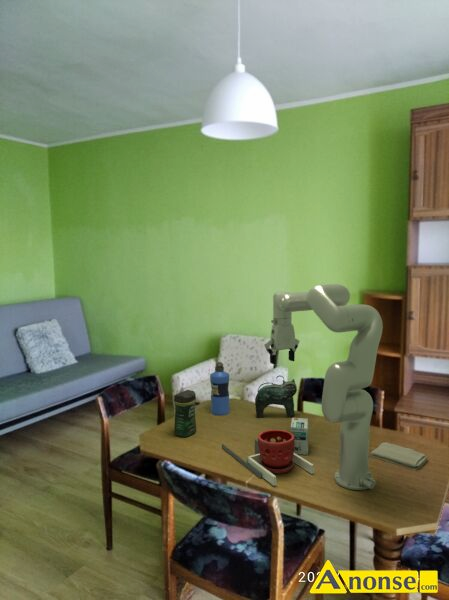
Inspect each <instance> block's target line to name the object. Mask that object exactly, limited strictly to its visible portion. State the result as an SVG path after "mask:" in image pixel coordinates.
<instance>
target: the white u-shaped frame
mask: <svg viewBox="0 0 449 600" xmlns="http://www.w3.org/2000/svg"><path fill="white" fill-rule="evenodd" d="M261 461H262V458H261V456H260V453H259V447H258V438H255V439H254V454H252V455H249V456H246V463H248V464H249V465H250V466H252V467H253V468H254V469H256V470H257V471H258V472H259V473H261V474H262V478H263V479H264V480H266V481H267V482H268V483H269V484H271V485H272V486H276V485H277V476H276V475H275V473H272V472H270V471H268V470H267V469H265V468H264V467H263V466H262V465H261ZM292 461H293V464H296V465H297V466H299V467H300V468H301V469H303V470H305V472H306V471H307V472H308V473H310V474H312V475H313V474H314V466H315V465H314V464H313V463H312V462H309V461H308V460H306V459H305V458H303V457H302V456H300V454H295V453H294V454H293V458H292Z"/></svg>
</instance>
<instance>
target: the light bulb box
mask: <svg viewBox="0 0 449 600" xmlns="http://www.w3.org/2000/svg"><path fill="white" fill-rule="evenodd" d="M290 433H292V434H293V435H294V440H295V445H294V453H295V454H297V455H304V456H308V455H309V418H303V417H300V418H299V417H294V418H291V423H290Z"/></svg>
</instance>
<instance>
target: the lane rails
mask: <svg viewBox="0 0 449 600" xmlns="http://www.w3.org/2000/svg"><path fill="white" fill-rule="evenodd" d="M265 441H267V439H265ZM270 442H273V441H272V440H270ZM221 449H222V450H224V452H226V453H227V454H228V455H230V456H231V457H232V458H233V459H235V460H236V461H237V462H238V463H240V464H241V465H242V466H243V467H244V468H246V469H247V470H249V472H251V473H253V474H254V475H255V476H256V477H258V479H260V480H261V479H262V478H263V477H262V474H261V473H259V472H258V471H257V470H256V469H254V468H253V467H252V466H250V465H249V464H248V463H247V461H245V460H244V459H243V458H241V457H240V456H239V455H237V454H236V453H235V452H234V451H232V449H230V448H228V446H226V445H224V443H223V444H221Z"/></svg>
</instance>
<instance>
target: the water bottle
mask: <svg viewBox="0 0 449 600" xmlns="http://www.w3.org/2000/svg"><path fill="white" fill-rule="evenodd" d="M214 370H215V371H214V372H212V373H210V375H209V377H210V378H209V381H210V387H211V391H210V413H211V414H212V415H213V416H218V417H219V416H227V415H229V414H230V393H229V392H230V391H229V385H230V373H228V372H226V371H225V366H224V363H223V362H221V361H218V362H217V363H216V364H215V369H214Z"/></svg>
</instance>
